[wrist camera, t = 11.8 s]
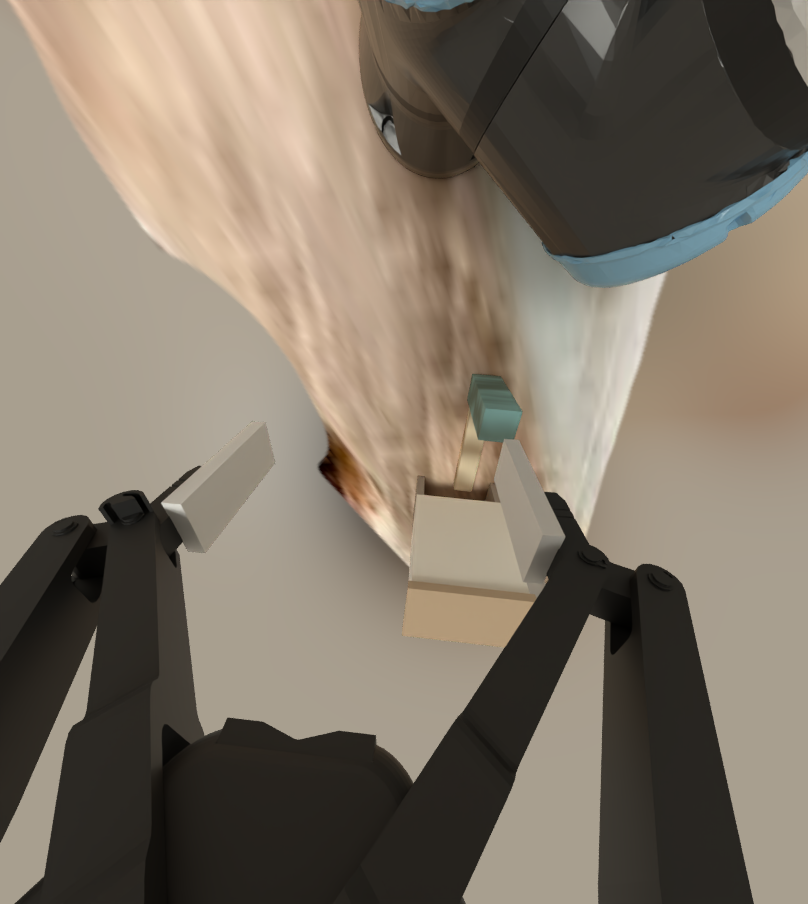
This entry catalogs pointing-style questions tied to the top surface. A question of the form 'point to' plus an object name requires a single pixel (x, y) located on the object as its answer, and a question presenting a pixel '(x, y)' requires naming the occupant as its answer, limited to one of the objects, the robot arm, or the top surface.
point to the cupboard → (463, 572)
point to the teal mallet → (485, 424)
